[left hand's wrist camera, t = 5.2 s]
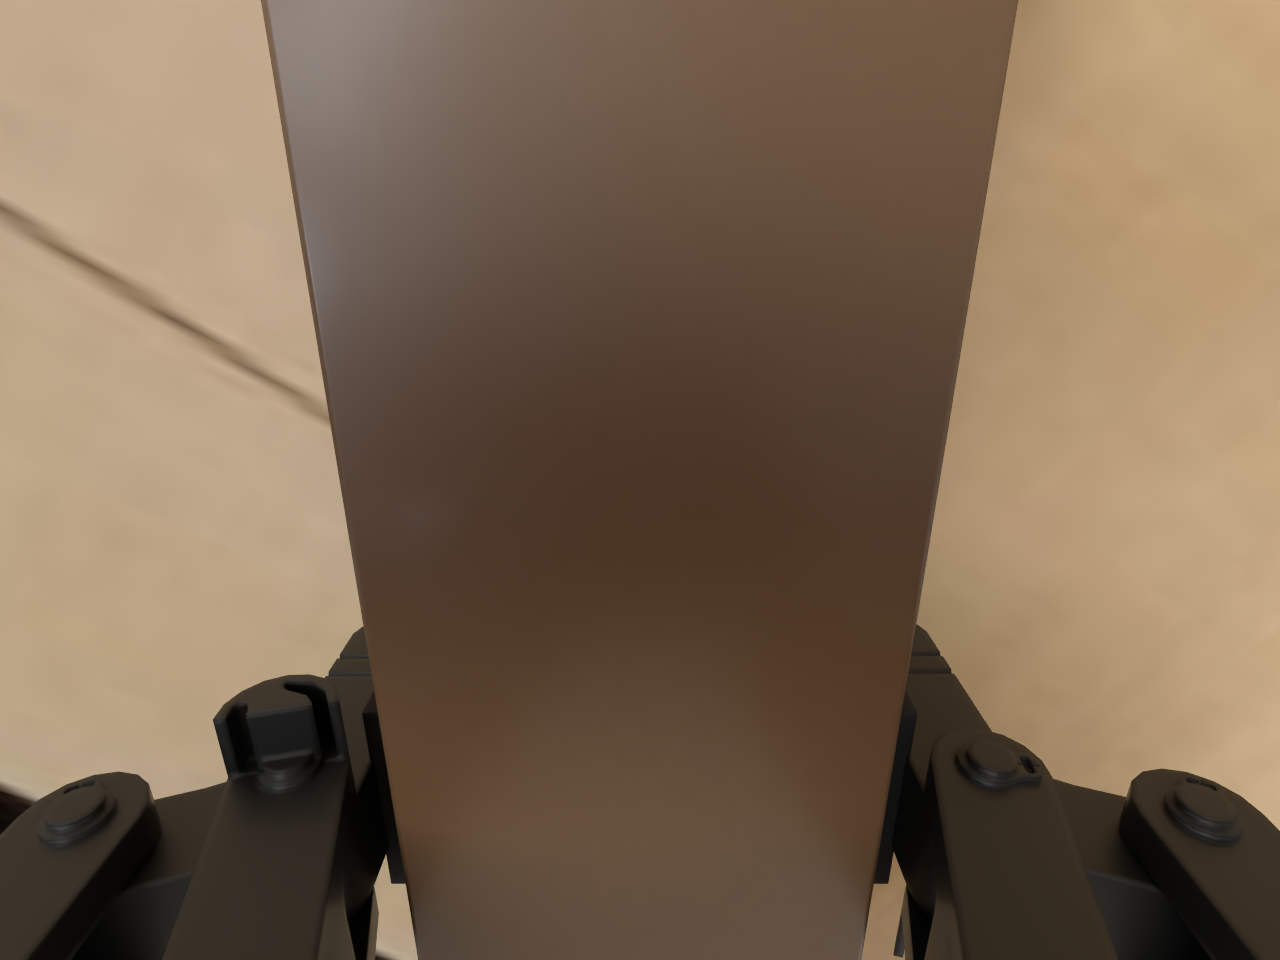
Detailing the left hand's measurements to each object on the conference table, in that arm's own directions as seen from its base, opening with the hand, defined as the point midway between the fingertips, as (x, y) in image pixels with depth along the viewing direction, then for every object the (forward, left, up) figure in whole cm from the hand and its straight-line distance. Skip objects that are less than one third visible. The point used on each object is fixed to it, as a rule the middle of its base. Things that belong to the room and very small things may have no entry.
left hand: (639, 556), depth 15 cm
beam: (+7, +23, -1) cm, 24 cm away
